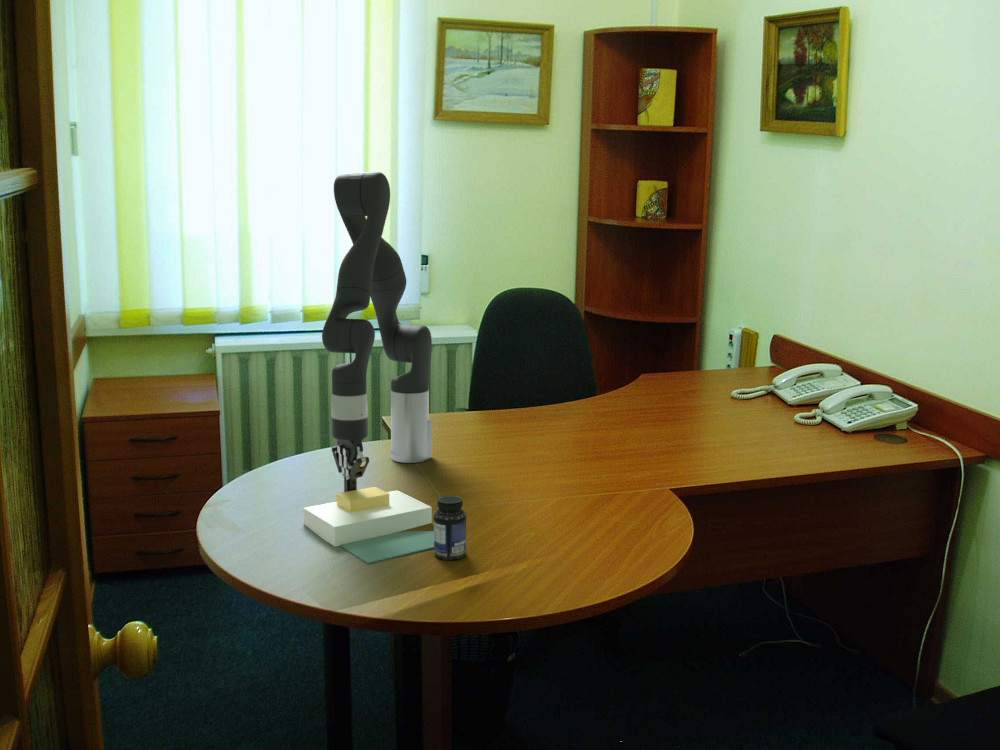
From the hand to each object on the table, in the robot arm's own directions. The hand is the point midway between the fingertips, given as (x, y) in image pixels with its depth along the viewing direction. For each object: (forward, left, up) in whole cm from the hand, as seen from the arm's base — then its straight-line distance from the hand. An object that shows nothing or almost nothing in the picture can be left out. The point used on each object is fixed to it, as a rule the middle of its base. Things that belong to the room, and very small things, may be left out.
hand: (350, 495), depth 201 cm
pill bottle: (-5, +30, -5) cm, 31 cm away
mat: (0, +20, -5) cm, 21 cm away
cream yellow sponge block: (0, +5, -1) cm, 5 cm away
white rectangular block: (0, +7, -5) cm, 9 cm away
